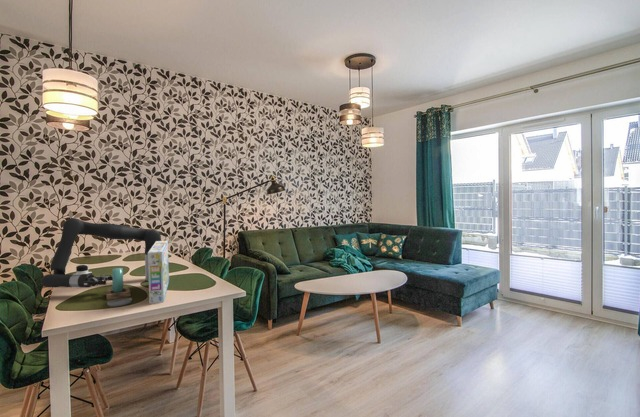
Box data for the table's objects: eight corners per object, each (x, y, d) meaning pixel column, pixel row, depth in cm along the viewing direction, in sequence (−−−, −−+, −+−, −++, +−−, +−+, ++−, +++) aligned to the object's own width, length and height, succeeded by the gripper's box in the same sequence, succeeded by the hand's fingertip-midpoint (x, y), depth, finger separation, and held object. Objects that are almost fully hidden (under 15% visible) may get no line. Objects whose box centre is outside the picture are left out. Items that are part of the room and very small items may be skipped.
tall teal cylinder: (123, 293, 181) (122, 267, 180) (123, 295, 177) (123, 269, 176) (112, 295, 178) (111, 268, 178) (113, 297, 174) (112, 270, 173)
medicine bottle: (82, 286, 196) (81, 266, 196) (72, 285, 198) (72, 266, 197) (92, 282, 203) (92, 264, 203) (83, 282, 205) (82, 263, 204)
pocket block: (128, 291, 185) (128, 287, 185) (130, 296, 176) (130, 291, 176) (106, 294, 179) (106, 290, 179) (106, 300, 170) (106, 295, 170)
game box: (157, 283, 201) (156, 241, 200) (169, 282, 204) (168, 240, 202) (148, 304, 163) (147, 251, 162) (163, 302, 166) (162, 250, 165)
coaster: (131, 298, 173) (131, 296, 173) (133, 303, 164) (133, 301, 164) (106, 302, 167) (106, 300, 167) (107, 308, 158) (107, 306, 158)
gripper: (71, 277, 170) (102, 277, 170) (91, 270, 184) (118, 270, 184) (72, 291, 170) (102, 291, 170) (91, 283, 185) (119, 283, 185)
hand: (111, 280), depth 177 cm, fingers open, 8 cm apart
